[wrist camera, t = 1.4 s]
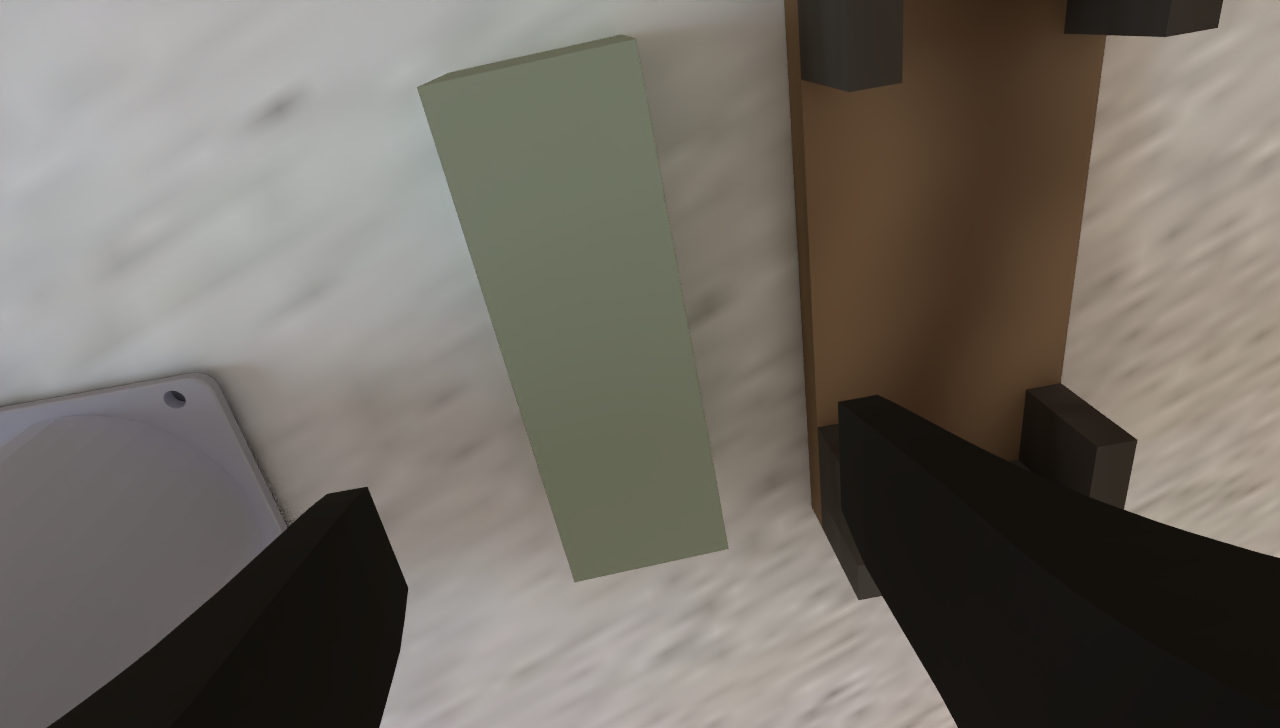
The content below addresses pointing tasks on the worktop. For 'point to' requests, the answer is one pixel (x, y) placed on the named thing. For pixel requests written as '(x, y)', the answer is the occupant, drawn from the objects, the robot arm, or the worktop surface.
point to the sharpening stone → (584, 296)
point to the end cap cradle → (952, 223)
